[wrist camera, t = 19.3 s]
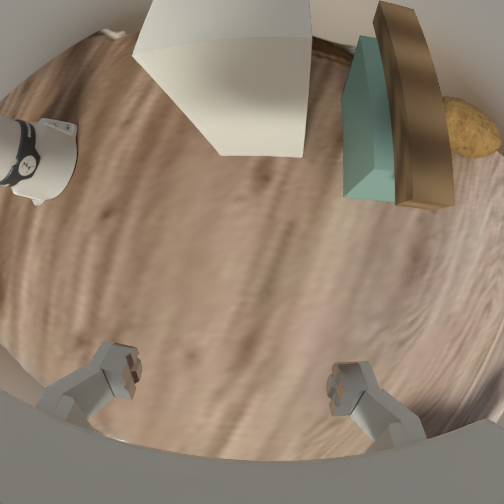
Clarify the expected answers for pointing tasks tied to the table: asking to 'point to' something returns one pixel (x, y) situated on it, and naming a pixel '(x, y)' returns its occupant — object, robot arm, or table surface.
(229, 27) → the stand
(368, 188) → the teal box
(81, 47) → the table surface
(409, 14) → the rail
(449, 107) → the potato
